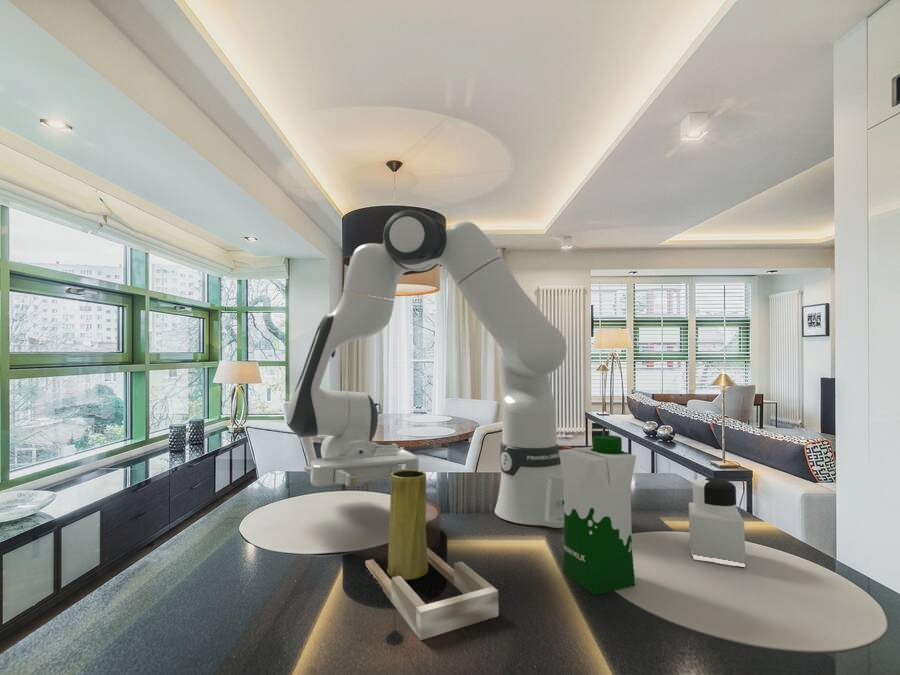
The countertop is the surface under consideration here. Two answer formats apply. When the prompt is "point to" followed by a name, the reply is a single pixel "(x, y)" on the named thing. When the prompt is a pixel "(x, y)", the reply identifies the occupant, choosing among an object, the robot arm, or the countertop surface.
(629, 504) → the milk carton
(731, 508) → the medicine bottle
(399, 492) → the vase
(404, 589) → the frame
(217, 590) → the countertop surface
